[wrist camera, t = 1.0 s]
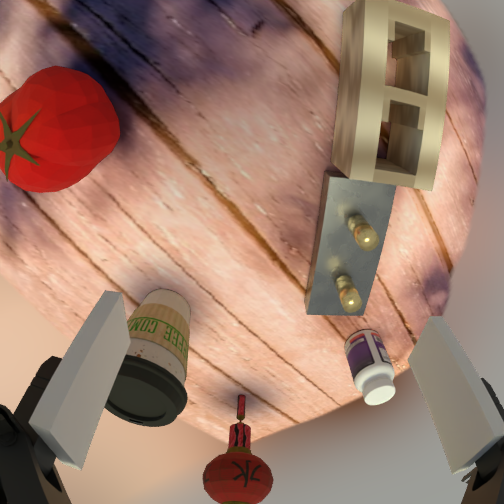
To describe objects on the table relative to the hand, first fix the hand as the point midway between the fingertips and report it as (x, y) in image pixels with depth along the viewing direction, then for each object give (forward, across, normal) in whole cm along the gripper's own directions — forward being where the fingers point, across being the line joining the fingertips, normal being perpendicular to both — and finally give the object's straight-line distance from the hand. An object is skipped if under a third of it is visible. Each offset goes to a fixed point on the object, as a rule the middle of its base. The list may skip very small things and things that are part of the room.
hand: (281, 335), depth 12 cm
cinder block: (+21, +10, +12) cm, 26 cm away
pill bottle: (+22, +16, -20) cm, 34 cm away
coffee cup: (+22, -11, -17) cm, 29 cm away
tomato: (+22, -20, +6) cm, 30 cm away
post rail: (+21, +9, -5) cm, 24 cm away
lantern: (+22, 0, -34) cm, 40 cm away
